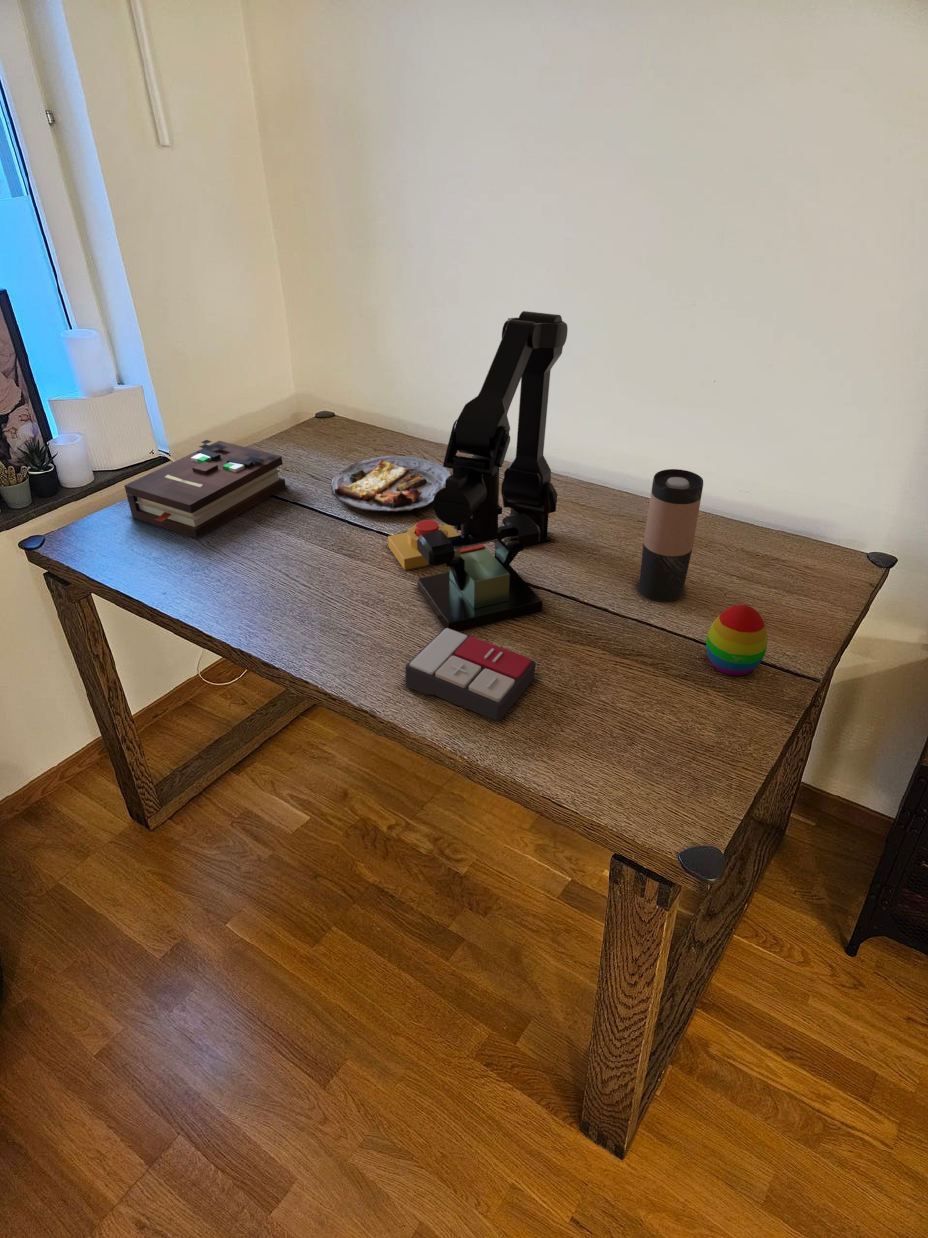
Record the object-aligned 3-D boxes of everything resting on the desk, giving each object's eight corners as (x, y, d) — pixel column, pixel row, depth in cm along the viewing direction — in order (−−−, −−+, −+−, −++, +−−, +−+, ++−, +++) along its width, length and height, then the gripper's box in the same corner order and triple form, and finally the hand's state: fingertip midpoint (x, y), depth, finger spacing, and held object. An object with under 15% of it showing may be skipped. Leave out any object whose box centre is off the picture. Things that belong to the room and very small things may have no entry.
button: (434, 526, 145) (433, 518, 144) (442, 536, 142) (442, 527, 141) (413, 530, 143) (412, 522, 142) (420, 541, 140) (420, 532, 139)
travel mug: (686, 582, 136) (706, 472, 125) (681, 606, 130) (701, 492, 119) (640, 575, 138) (656, 465, 127) (633, 597, 132) (649, 485, 121)
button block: (449, 534, 150) (449, 515, 148) (468, 556, 143) (468, 536, 141) (388, 546, 146) (387, 527, 144) (404, 570, 139) (403, 550, 137)
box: (508, 600, 128) (509, 572, 125) (474, 609, 126) (474, 580, 123) (482, 570, 135) (483, 543, 132) (449, 578, 133) (449, 550, 130)
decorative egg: (745, 689, 113) (760, 631, 107) (692, 666, 117) (704, 608, 111) (770, 662, 118) (785, 605, 112) (718, 641, 122) (730, 585, 116)
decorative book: (108, 484, 150) (222, 431, 172) (118, 520, 154) (228, 465, 176) (184, 507, 142) (293, 449, 164) (192, 545, 147) (297, 483, 168)
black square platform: (504, 569, 139) (505, 559, 138) (542, 611, 129) (542, 600, 128) (417, 588, 134) (417, 578, 133) (448, 633, 124) (448, 623, 123)
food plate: (403, 530, 151) (402, 513, 149) (308, 501, 161) (306, 485, 159) (473, 482, 169) (473, 466, 167) (383, 458, 179) (382, 443, 177)
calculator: (501, 701, 105) (404, 662, 110) (498, 726, 107) (404, 686, 113) (537, 657, 113) (445, 622, 118) (534, 680, 115) (444, 645, 121)
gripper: (511, 466, 130) (508, 550, 139) (402, 486, 124) (407, 573, 133) (544, 494, 122) (539, 582, 131) (429, 516, 116) (431, 607, 125)
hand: (478, 585), depth 130 cm, fingers closed on box, 6 cm apart
